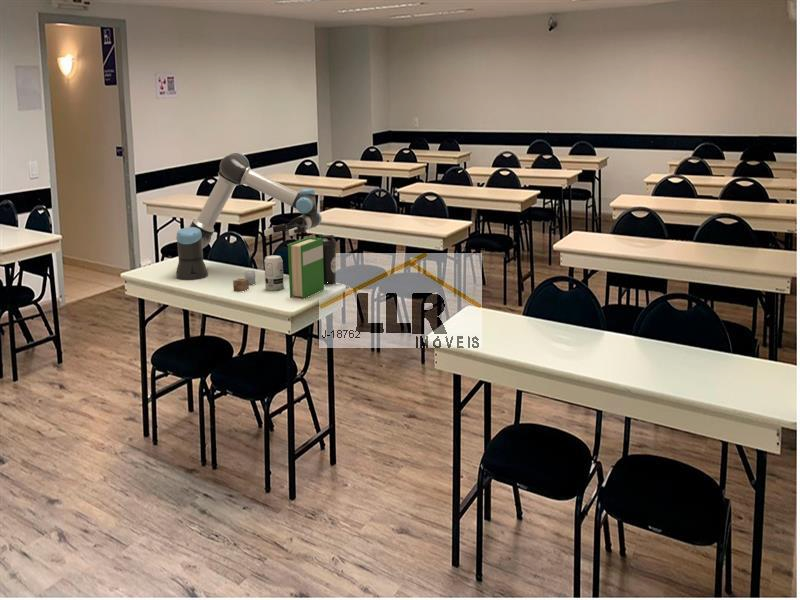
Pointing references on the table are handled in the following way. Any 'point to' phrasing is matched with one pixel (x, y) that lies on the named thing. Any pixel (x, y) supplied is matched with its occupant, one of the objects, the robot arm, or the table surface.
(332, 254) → the water bottle
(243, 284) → the walnut block
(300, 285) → the hardback book
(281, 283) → the supplement can
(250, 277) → the grey plastic tub
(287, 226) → the robot arm
